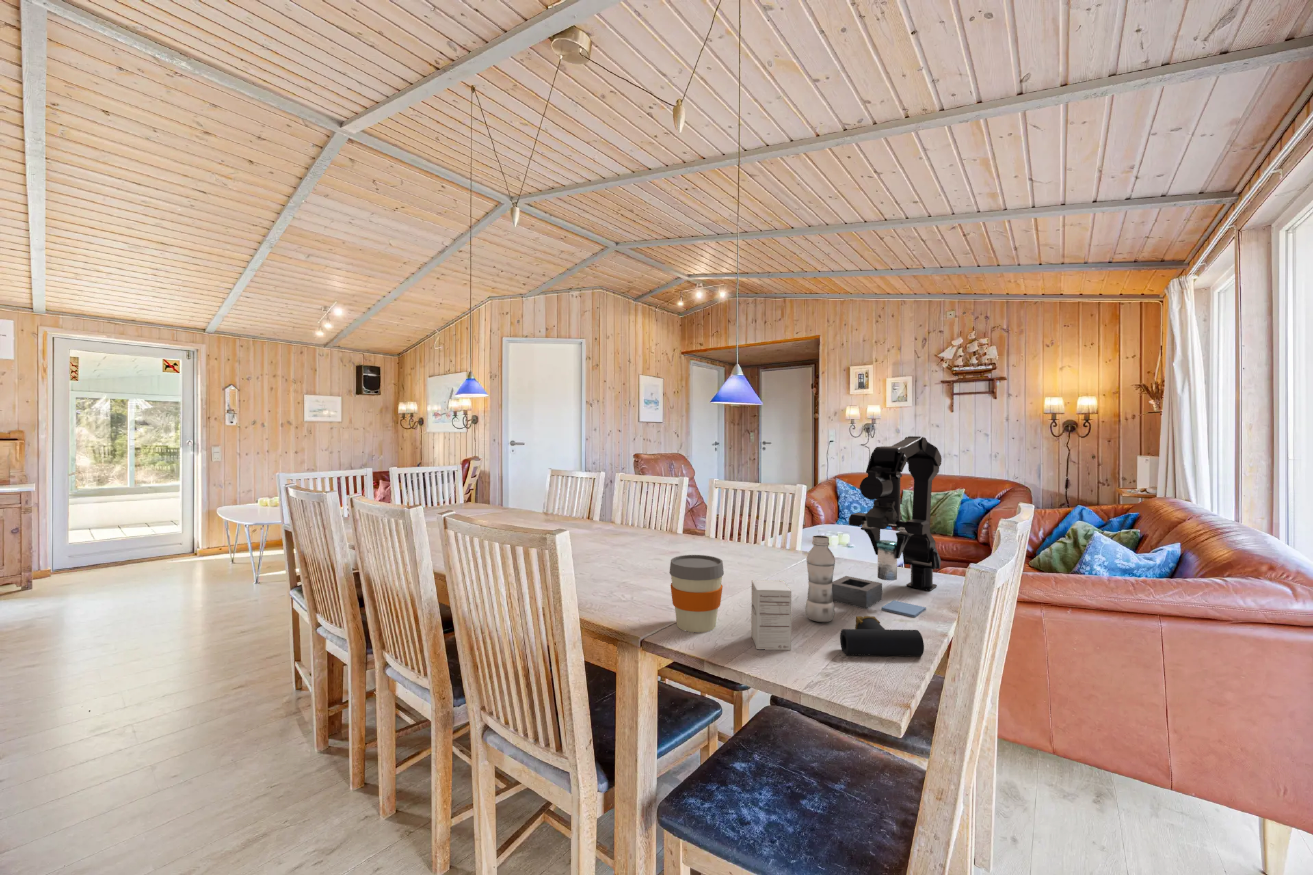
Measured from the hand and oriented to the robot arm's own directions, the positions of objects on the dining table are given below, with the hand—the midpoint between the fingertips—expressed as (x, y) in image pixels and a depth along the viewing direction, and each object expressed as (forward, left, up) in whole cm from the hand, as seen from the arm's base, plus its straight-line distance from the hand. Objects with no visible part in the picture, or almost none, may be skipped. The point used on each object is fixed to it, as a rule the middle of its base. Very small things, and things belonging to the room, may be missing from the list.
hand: (887, 556), depth 139 cm
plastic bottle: (+22, -7, -13) cm, 26 cm away
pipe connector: (+28, +8, -13) cm, 32 cm away
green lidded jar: (0, 0, -6) cm, 6 cm away
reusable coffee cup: (+45, -26, -13) cm, 54 cm away
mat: (0, +4, -13) cm, 14 cm away
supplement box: (+42, -8, -13) cm, 45 cm away
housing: (+1, -8, -13) cm, 15 cm away
